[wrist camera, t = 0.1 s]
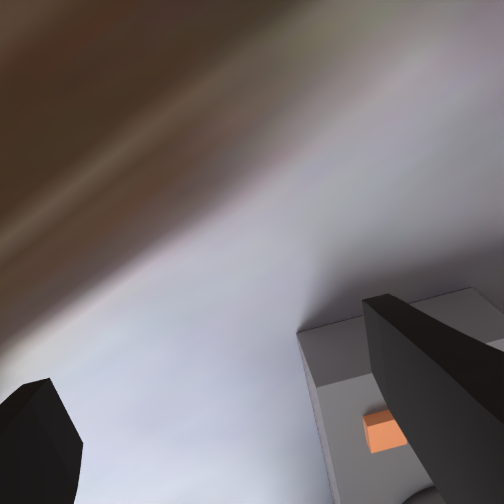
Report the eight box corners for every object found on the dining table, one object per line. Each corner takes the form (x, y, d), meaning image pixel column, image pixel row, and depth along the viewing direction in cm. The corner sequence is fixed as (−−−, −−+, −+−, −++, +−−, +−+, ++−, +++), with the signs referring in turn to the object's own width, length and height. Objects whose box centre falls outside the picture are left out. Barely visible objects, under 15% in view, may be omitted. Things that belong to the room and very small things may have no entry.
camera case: (476, 478, 28) (527, 554, 24) (337, 515, 28) (362, 598, 24) (472, 287, 22) (537, 342, 18) (296, 333, 22) (320, 399, 18)
